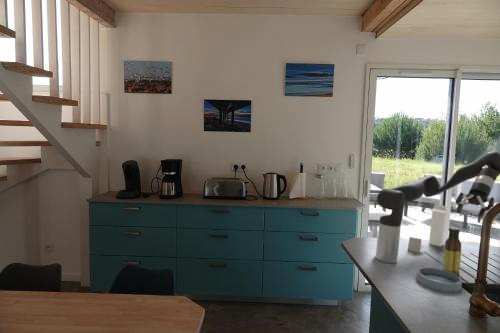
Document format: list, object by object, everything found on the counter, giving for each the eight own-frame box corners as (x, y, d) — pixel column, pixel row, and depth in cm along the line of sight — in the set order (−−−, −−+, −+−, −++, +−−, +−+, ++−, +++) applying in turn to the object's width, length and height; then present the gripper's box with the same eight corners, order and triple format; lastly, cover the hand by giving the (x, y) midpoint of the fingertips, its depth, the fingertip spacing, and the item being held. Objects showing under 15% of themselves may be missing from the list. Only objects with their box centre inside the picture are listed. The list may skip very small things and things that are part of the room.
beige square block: (408, 249, 176) (410, 235, 175) (423, 252, 173) (424, 238, 172) (407, 250, 173) (409, 236, 173) (422, 254, 170) (424, 239, 169)
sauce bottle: (457, 271, 148) (462, 227, 146) (460, 276, 142) (466, 231, 140) (440, 268, 150) (445, 225, 148) (443, 273, 144) (448, 228, 142)
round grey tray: (408, 274, 141) (409, 266, 141) (442, 274, 143) (443, 267, 143) (432, 291, 126) (433, 283, 126) (470, 291, 128) (471, 283, 127)
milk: (440, 246, 181) (445, 207, 179) (428, 243, 186) (433, 205, 183) (443, 244, 186) (448, 205, 184) (431, 241, 190) (435, 203, 188)
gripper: (501, 195, 152) (488, 222, 146) (466, 189, 163) (453, 215, 158) (498, 184, 148) (485, 212, 143) (463, 179, 160) (449, 205, 154)
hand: (468, 214), depth 150 cm, fingers open, 8 cm apart
